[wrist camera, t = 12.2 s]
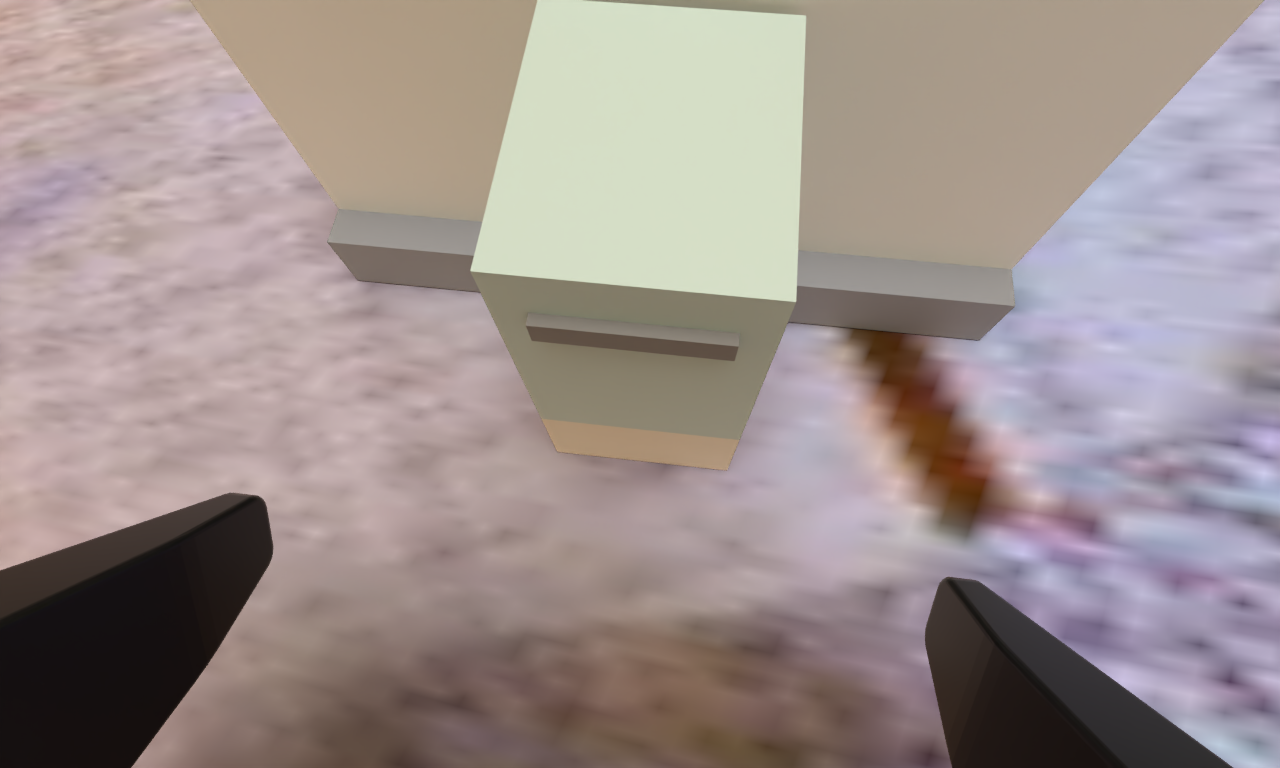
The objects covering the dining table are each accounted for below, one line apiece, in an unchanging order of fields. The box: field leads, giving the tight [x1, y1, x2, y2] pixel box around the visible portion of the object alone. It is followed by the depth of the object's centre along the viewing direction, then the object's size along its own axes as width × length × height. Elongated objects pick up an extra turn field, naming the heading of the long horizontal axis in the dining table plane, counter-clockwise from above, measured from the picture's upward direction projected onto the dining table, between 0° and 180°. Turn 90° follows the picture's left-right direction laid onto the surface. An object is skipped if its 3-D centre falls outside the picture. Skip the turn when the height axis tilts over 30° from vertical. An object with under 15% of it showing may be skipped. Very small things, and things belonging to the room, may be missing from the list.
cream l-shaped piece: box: [190, 0, 1264, 340], centre depth 17 cm, size 10×20×12 cm, turn 83°
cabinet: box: [470, 0, 806, 471], centre depth 16 cm, size 6×5×10 cm
